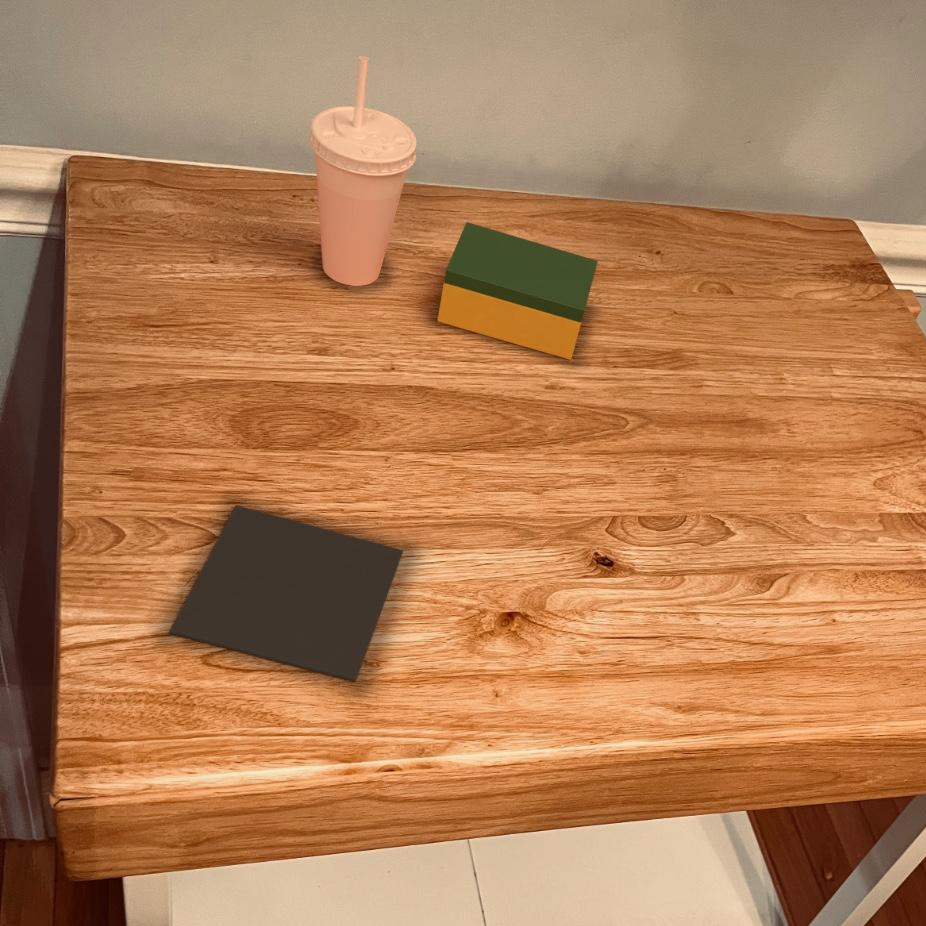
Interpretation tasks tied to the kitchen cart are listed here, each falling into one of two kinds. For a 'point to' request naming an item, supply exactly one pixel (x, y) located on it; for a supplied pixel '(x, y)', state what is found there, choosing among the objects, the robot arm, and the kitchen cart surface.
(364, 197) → the smoothie
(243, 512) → the cloth
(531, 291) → the scrubber
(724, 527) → the kitchen cart surface
